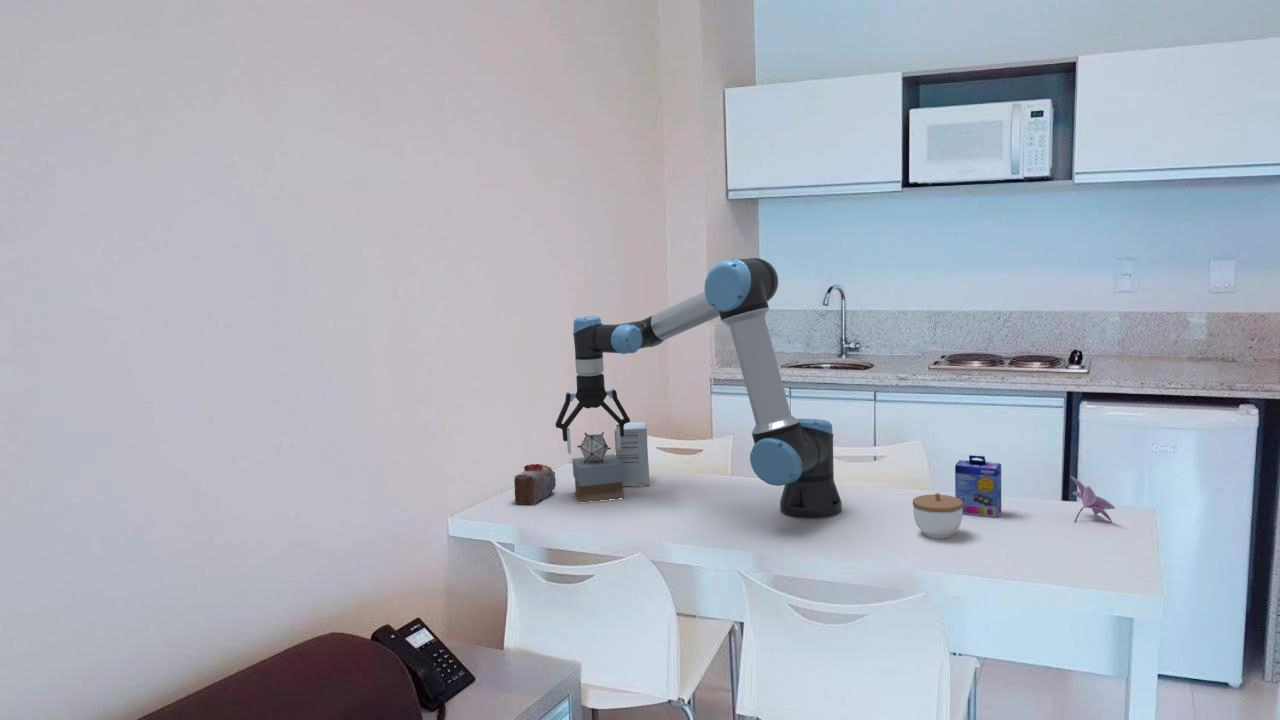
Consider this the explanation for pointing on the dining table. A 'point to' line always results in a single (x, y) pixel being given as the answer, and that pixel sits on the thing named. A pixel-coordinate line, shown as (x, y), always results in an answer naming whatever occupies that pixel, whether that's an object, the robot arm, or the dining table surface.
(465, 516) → the dining table surface
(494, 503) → the dining table surface
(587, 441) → the game die
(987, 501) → the ink cartridge box
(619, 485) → the tower base
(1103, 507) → the lily
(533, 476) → the food item
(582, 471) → the tower top
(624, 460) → the supplement box
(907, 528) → the dining table surface
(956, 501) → the lidded jar
